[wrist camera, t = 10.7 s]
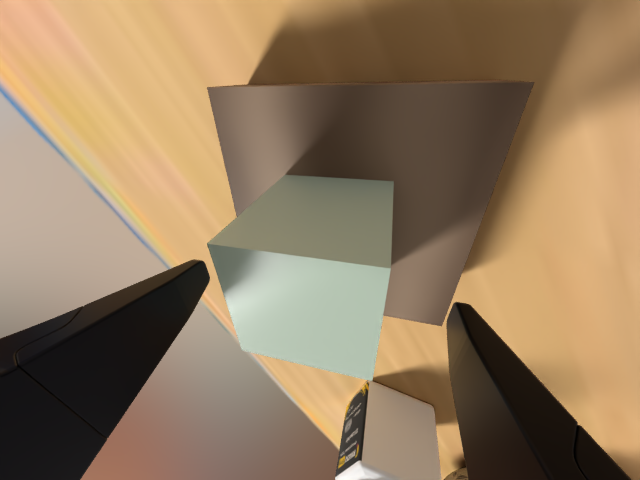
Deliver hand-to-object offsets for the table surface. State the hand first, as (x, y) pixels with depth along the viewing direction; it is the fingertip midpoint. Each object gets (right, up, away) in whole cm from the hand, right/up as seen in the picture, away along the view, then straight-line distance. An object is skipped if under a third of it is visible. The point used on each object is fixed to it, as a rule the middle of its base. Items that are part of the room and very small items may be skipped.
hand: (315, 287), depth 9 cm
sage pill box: (+1, +2, +4) cm, 5 cm away
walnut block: (+2, +5, +7) cm, 9 cm away
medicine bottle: (+8, -16, +19) cm, 26 cm away
